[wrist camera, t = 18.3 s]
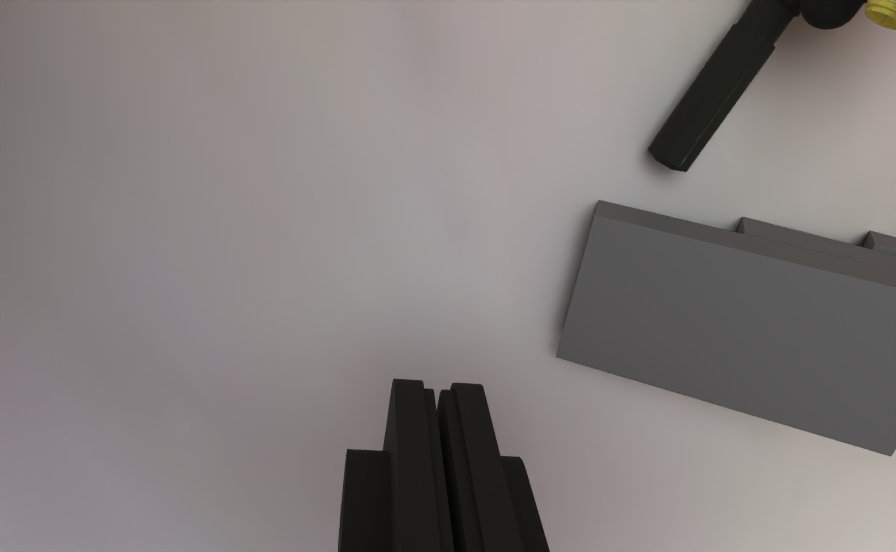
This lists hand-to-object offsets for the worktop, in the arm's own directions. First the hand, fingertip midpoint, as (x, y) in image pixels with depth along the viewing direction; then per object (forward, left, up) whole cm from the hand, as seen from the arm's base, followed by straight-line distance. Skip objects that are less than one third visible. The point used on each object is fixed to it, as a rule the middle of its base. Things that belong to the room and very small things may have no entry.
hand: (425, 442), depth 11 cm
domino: (+6, 0, -8) cm, 10 cm away
